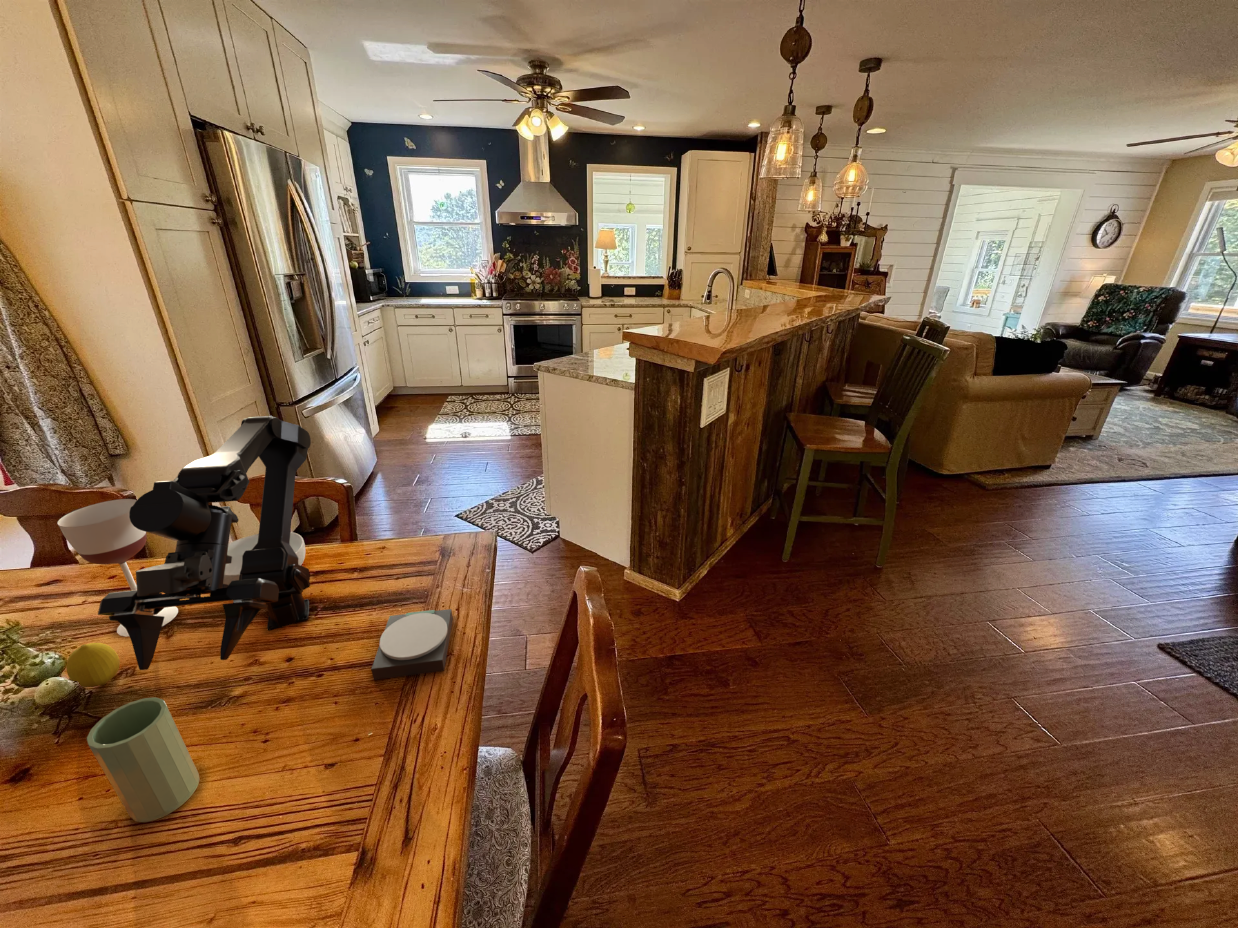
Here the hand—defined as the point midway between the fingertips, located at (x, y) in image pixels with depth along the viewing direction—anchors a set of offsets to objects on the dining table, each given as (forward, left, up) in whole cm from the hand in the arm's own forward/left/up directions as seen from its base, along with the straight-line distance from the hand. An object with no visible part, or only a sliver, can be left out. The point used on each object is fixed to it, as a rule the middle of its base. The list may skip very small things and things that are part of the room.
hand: (184, 664), depth 65 cm
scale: (-5, +28, -14) cm, 31 cm away
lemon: (-20, -17, -14) cm, 30 cm away
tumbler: (+7, -4, -14) cm, 16 cm away
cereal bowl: (-41, +3, -14) cm, 44 cm away
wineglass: (-36, -15, -14) cm, 42 cm away
